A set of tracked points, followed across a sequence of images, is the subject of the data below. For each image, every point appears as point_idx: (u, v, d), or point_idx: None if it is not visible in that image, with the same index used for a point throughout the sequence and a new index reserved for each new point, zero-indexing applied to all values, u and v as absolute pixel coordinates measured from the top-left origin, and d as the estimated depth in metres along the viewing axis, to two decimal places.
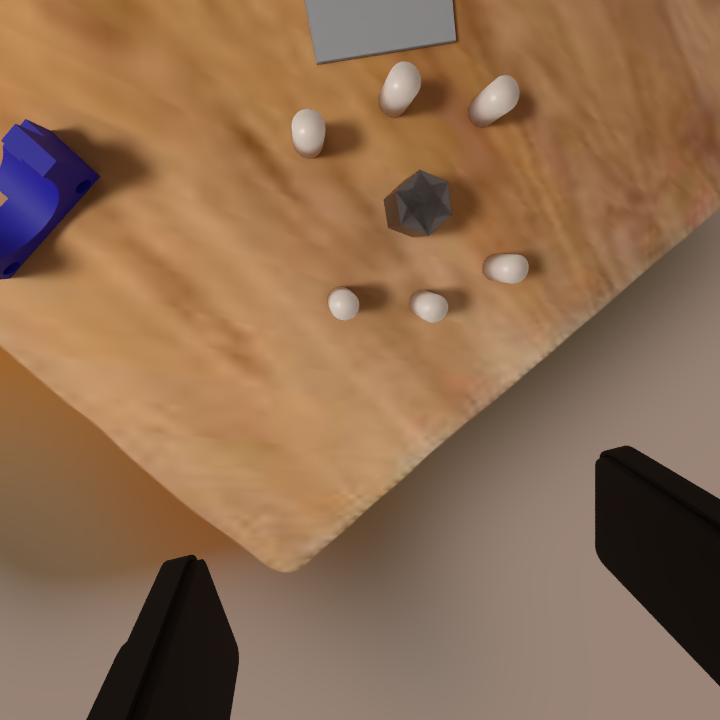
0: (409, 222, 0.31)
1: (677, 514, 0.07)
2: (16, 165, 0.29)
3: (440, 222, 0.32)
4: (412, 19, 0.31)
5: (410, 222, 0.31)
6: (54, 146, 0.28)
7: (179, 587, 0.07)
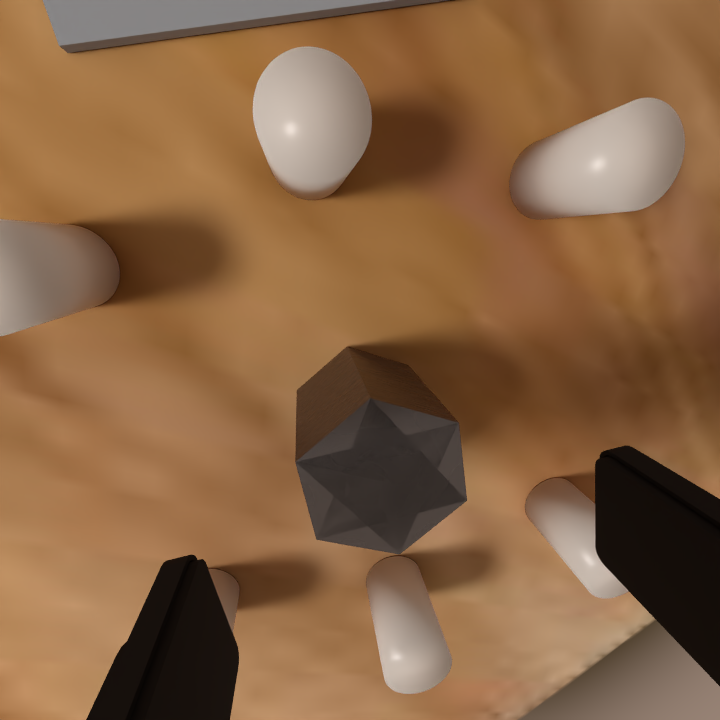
0: (342, 532, 0.11)
1: (677, 514, 0.07)
2: None
3: (434, 521, 0.11)
4: None
5: (345, 531, 0.11)
6: None
7: (179, 587, 0.07)
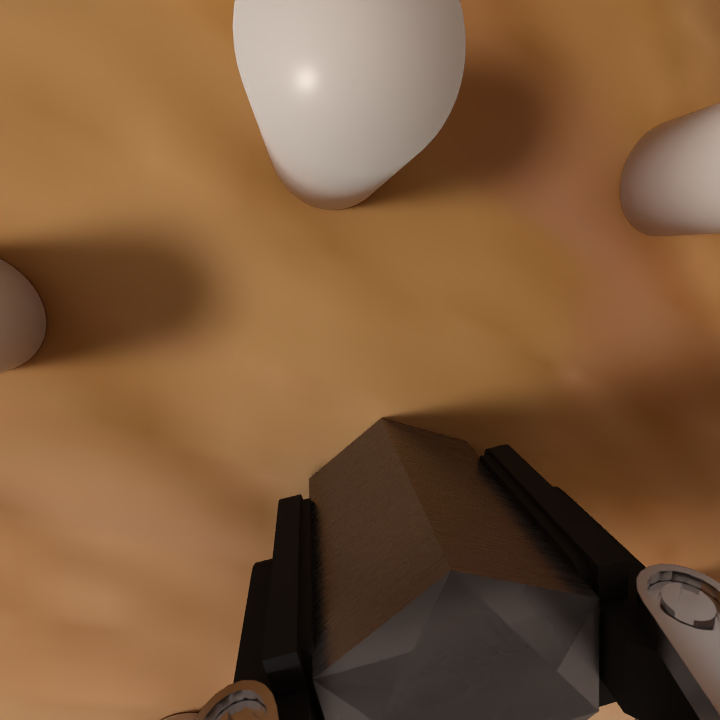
0: None
1: (522, 504, 0.08)
2: None
3: None
4: None
5: None
6: None
7: (300, 516, 0.08)
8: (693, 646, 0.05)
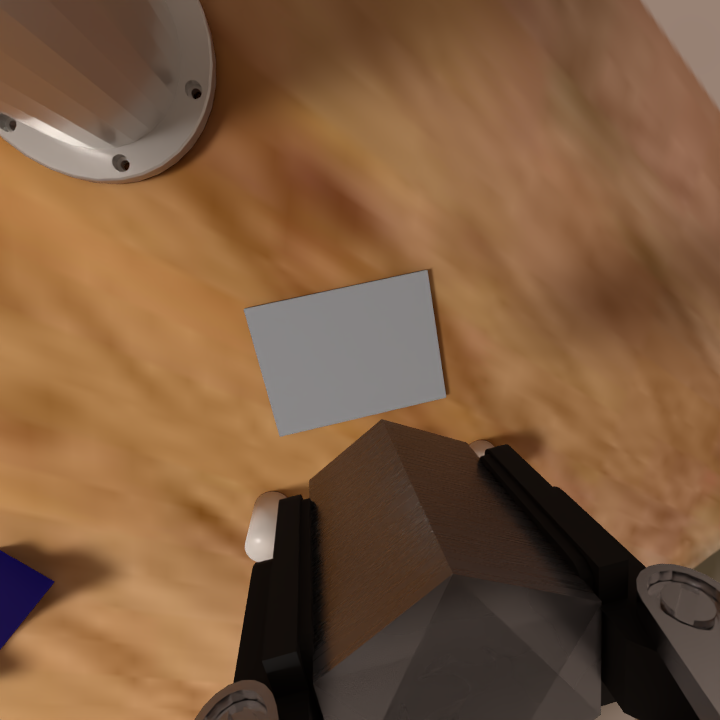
0: None
1: (522, 504, 0.08)
2: None
3: None
4: (393, 383, 0.26)
5: None
6: None
7: (300, 516, 0.08)
8: (692, 646, 0.05)
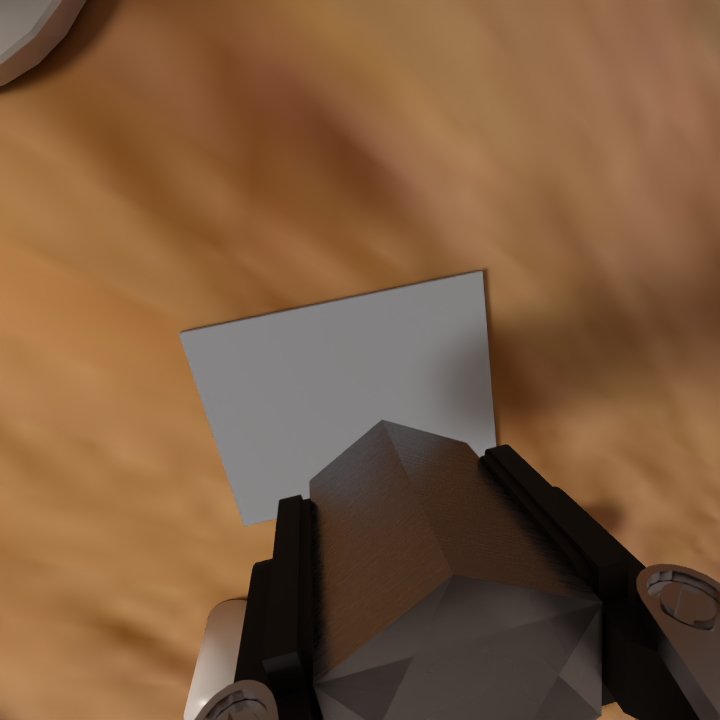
0: None
1: (522, 504, 0.08)
2: None
3: None
4: None
5: None
6: None
7: (300, 516, 0.08)
8: (693, 646, 0.05)
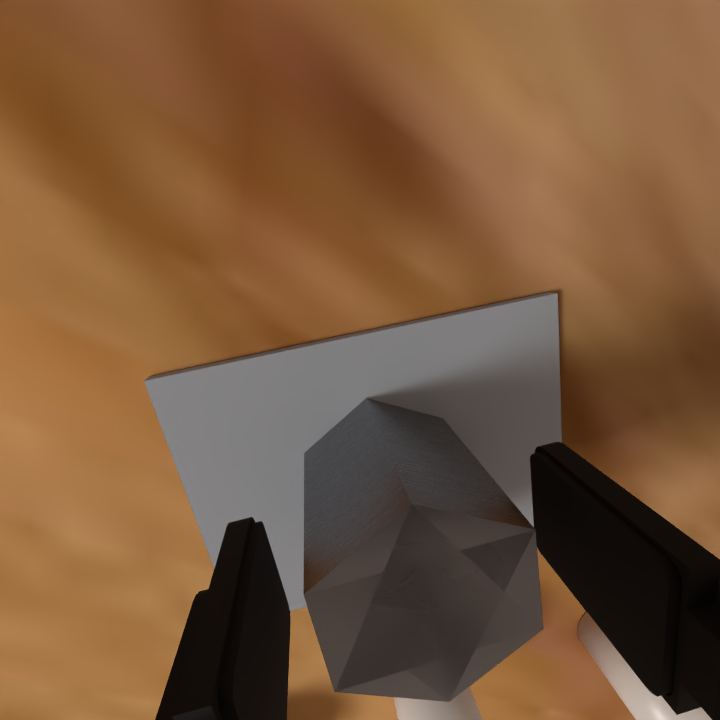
0: (370, 680, 0.08)
1: (588, 503, 0.07)
2: None
3: (497, 657, 0.08)
4: None
5: (375, 678, 0.08)
6: None
7: (246, 542, 0.08)
8: None
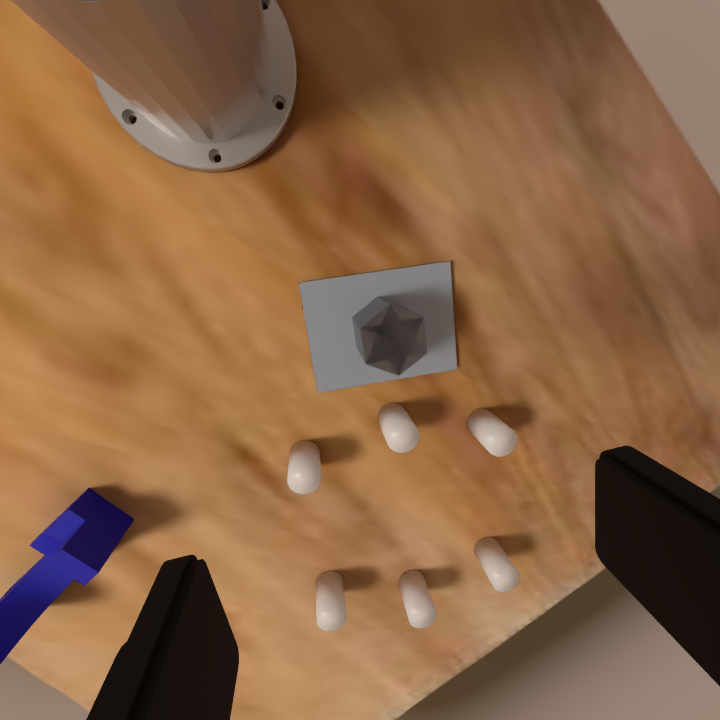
0: (375, 362, 0.26)
1: (677, 514, 0.07)
2: (56, 539, 0.30)
3: (413, 361, 0.27)
4: None
5: (377, 361, 0.26)
6: (94, 529, 0.29)
7: (179, 587, 0.07)
8: None
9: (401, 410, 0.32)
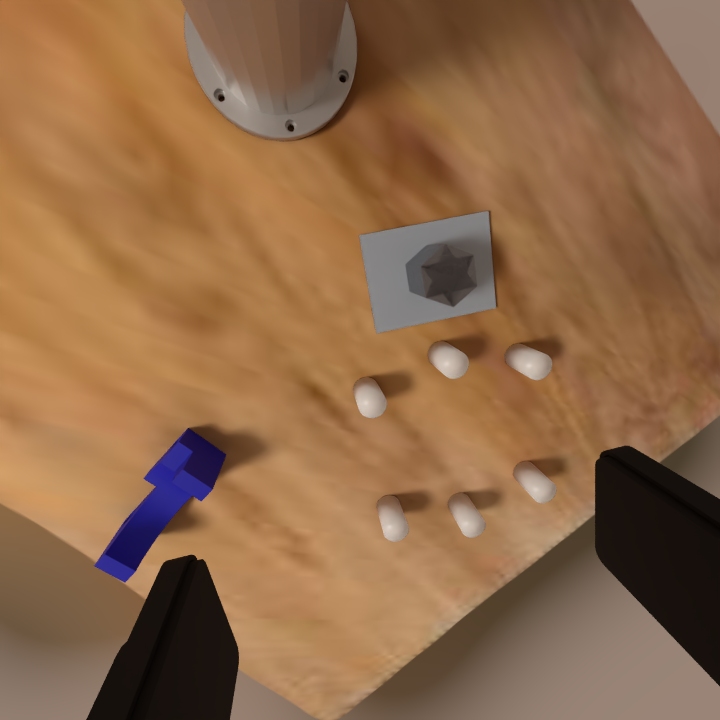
0: (434, 295, 0.31)
1: (677, 514, 0.07)
2: (168, 470, 0.35)
3: (465, 294, 0.31)
4: None
5: (435, 295, 0.31)
6: (201, 459, 0.34)
7: (179, 587, 0.07)
8: None
9: (450, 345, 0.36)
